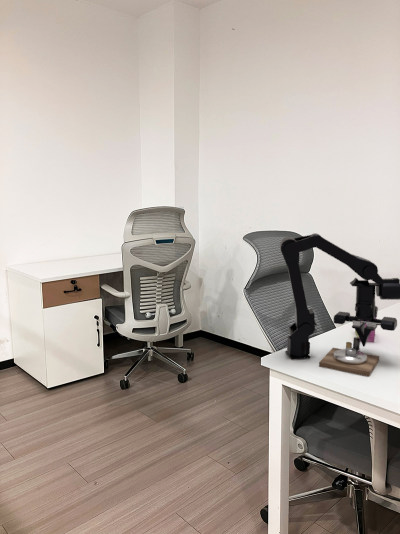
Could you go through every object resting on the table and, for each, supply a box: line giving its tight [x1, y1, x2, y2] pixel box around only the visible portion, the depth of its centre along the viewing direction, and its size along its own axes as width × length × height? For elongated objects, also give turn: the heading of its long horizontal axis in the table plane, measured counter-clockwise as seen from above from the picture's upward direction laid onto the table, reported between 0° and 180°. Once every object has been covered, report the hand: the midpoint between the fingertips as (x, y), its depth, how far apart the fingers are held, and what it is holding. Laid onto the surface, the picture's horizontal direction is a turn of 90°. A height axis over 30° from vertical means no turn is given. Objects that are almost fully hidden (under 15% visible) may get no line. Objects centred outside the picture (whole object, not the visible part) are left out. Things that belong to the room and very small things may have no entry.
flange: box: [334, 336, 367, 364], centre depth 149 cm, size 12×10×5 cm
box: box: [354, 316, 378, 343], centre depth 173 cm, size 10×6×12 cm, turn 168°
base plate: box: [318, 341, 380, 378], centre depth 148 cm, size 15×15×4 cm
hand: (363, 346), depth 152 cm, fingers closed
